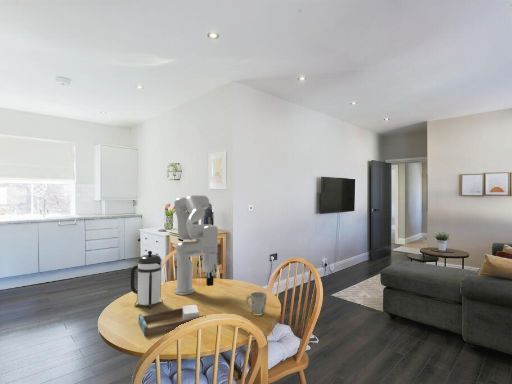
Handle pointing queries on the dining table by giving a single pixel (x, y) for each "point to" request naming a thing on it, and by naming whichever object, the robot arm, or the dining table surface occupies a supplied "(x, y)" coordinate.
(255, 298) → the mug
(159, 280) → the coffee press
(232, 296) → the dining table surface
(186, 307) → the silver block
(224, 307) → the dining table surface
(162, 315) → the bay
